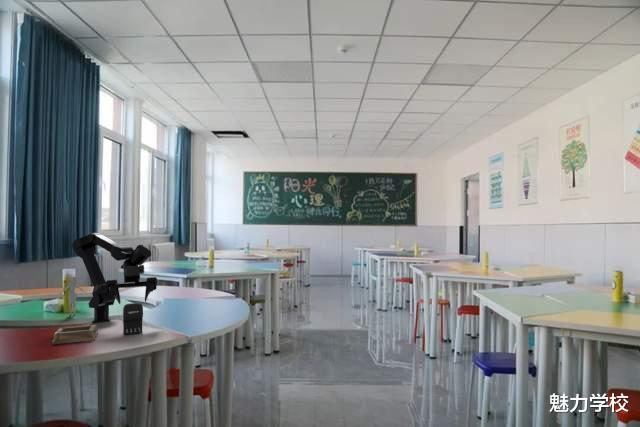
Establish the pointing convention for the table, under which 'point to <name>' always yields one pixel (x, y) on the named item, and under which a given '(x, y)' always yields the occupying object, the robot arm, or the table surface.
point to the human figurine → (72, 293)
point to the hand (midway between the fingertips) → (132, 302)
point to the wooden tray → (75, 334)
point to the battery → (132, 318)
